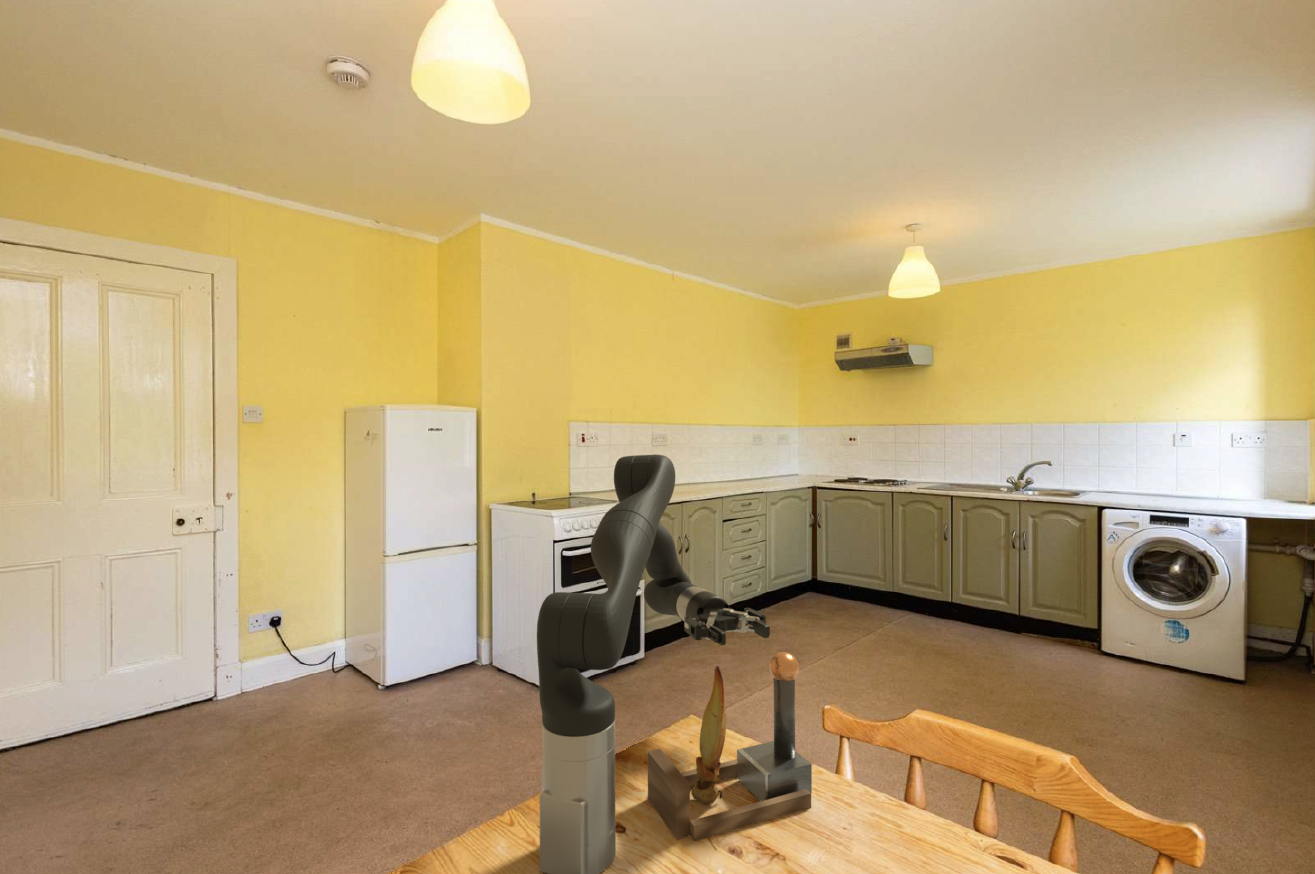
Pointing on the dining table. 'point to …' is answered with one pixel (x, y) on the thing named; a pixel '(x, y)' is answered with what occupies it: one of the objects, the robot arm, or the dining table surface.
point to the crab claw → (711, 744)
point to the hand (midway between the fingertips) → (746, 635)
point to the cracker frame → (674, 809)
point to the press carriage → (777, 742)
